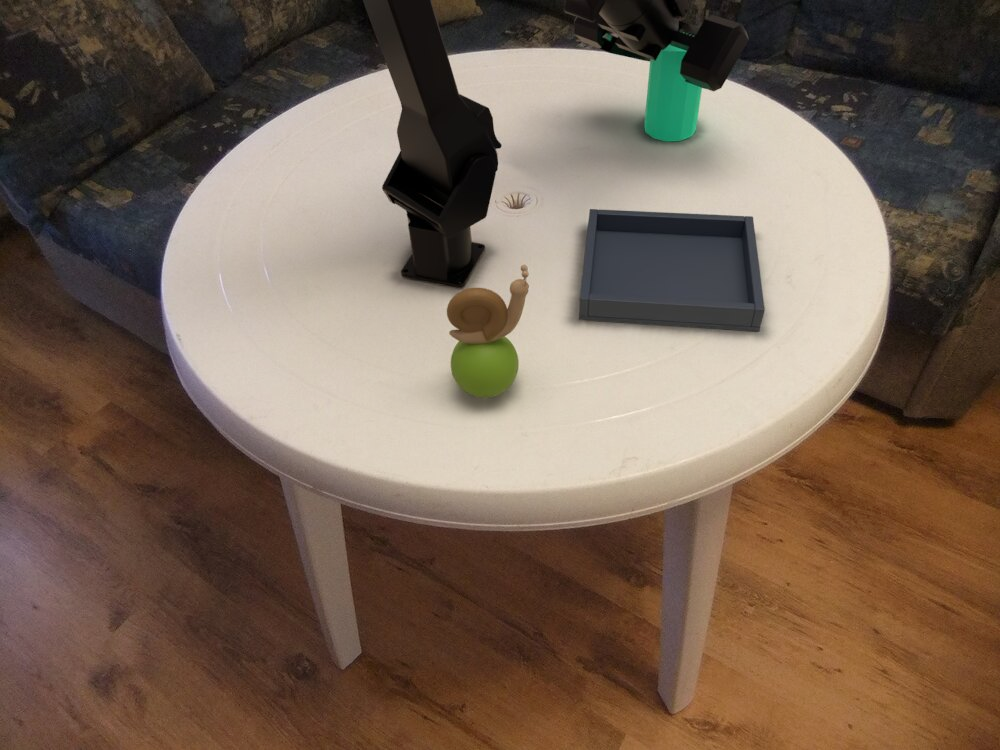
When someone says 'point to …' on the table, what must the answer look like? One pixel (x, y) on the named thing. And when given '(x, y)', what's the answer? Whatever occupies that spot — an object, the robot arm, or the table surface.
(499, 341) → the snail figurine
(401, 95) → the robot arm
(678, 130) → the candle
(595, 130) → the table surface
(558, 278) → the table surface
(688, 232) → the tray
